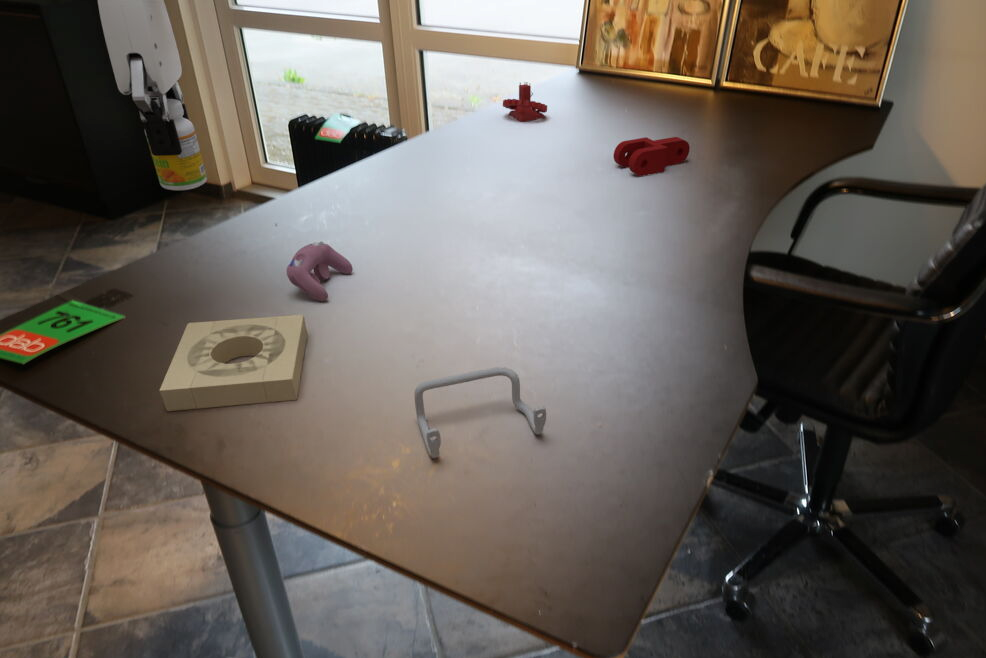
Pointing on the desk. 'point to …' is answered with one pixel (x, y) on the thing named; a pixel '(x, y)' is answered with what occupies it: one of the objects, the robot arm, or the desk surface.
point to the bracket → (427, 434)
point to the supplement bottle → (181, 155)
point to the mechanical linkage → (650, 154)
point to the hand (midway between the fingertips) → (173, 144)
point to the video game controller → (315, 268)
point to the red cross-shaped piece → (525, 106)
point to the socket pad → (258, 380)
